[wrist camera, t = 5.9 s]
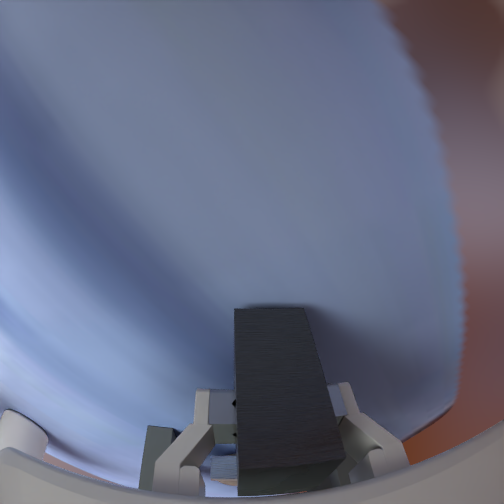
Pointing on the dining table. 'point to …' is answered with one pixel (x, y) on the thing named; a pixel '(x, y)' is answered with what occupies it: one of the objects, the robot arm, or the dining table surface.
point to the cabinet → (164, 437)
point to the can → (22, 434)
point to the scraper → (279, 407)
